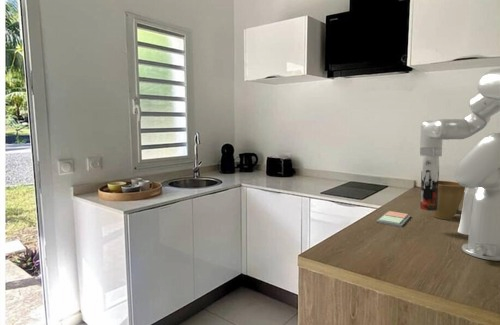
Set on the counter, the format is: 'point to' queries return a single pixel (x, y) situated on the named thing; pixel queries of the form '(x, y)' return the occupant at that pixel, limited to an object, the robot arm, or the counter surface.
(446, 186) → the plant pot
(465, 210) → the cosmetic bottle
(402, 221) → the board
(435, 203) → the deodorant
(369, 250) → the counter surface
